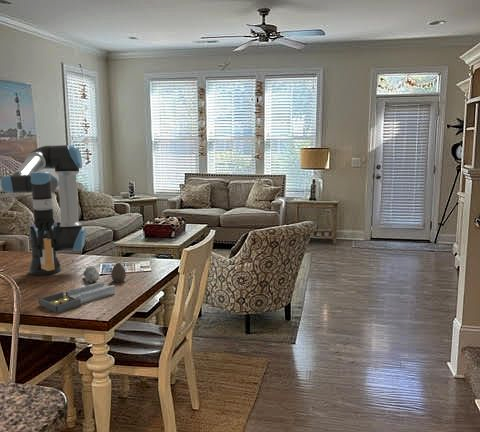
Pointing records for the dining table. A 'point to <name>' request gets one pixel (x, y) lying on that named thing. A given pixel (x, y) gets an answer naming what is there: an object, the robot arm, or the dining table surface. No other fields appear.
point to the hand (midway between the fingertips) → (47, 263)
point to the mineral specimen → (91, 274)
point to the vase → (118, 273)
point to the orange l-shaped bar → (47, 255)
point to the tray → (62, 307)
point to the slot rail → (90, 292)
